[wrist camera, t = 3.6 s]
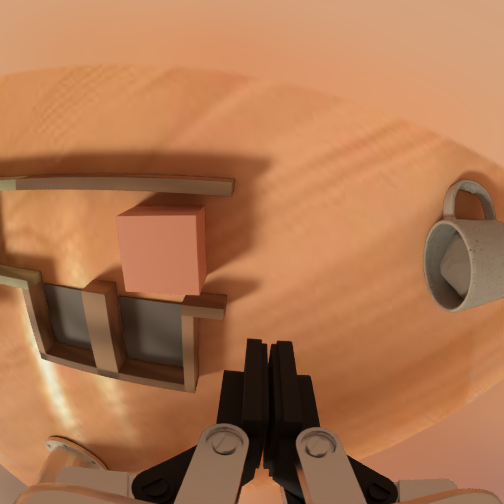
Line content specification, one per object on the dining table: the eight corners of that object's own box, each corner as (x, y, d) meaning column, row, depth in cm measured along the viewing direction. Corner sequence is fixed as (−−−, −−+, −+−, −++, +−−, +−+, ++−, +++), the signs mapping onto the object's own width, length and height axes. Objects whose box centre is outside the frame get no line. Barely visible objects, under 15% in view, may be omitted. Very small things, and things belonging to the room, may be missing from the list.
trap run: (222, 379, 30) (220, 395, 28) (11, 334, 30) (1, 343, 27) (234, 178, 24) (232, 182, 21) (-17, 178, 23) (-32, 182, 21)
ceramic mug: (478, 279, 26) (522, 311, 19) (418, 289, 26) (458, 330, 19) (488, 179, 23) (541, 192, 16) (424, 177, 23) (477, 190, 16)
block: (207, 274, 26) (199, 295, 23) (142, 272, 27) (125, 291, 23) (205, 204, 25) (195, 215, 21) (136, 205, 25) (116, 216, 21)
